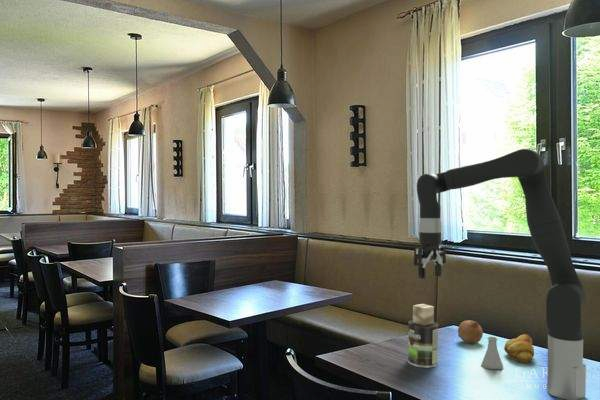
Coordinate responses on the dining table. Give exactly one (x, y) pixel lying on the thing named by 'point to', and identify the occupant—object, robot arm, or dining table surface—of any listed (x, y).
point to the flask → (492, 355)
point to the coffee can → (422, 344)
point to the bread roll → (520, 348)
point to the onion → (470, 332)
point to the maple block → (423, 314)
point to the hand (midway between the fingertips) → (430, 277)
